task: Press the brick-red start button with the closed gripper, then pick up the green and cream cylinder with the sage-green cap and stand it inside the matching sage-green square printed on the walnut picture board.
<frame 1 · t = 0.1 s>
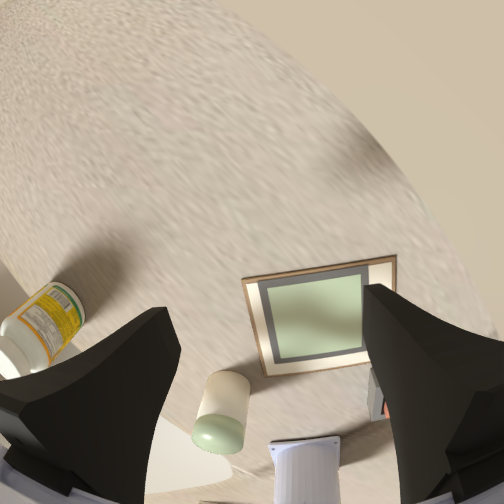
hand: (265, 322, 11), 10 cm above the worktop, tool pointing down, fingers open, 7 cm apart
button housing: (394, 381, 24), on the worktop
green and cream cylinder: (228, 385, 25), on the worktop
supplement bottle: (65, 304, 24), on the worktop
picture board: (325, 324, 22), on the worktop
done button: (401, 401, 22), point 3 cm above the worktop, slide at 0.0 cm
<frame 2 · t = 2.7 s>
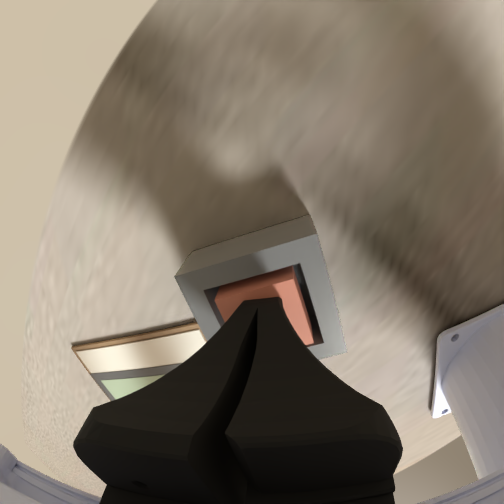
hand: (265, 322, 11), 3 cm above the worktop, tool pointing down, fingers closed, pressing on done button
button housing: (268, 287, 13), on the worktop
picture board: (172, 403, 17), on the worktop
done button: (266, 314, 11), point 2 cm above the worktop, slide at 0.5 cm, touching gripper
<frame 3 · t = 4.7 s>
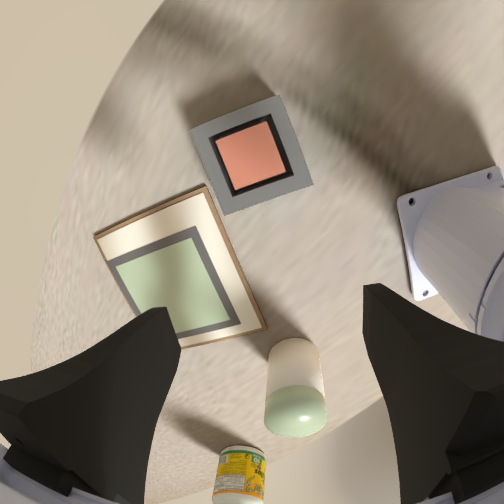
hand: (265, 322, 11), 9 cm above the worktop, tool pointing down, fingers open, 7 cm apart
button housing: (254, 153, 17), on the worktop
green and cream cylinder: (293, 357, 23), on the worktop
supplement bottle: (243, 453, 29), on the worktop
picture board: (177, 282, 21), on the worktop
done button: (251, 155, 15), point 2 cm above the worktop, slide at 0.5 cm
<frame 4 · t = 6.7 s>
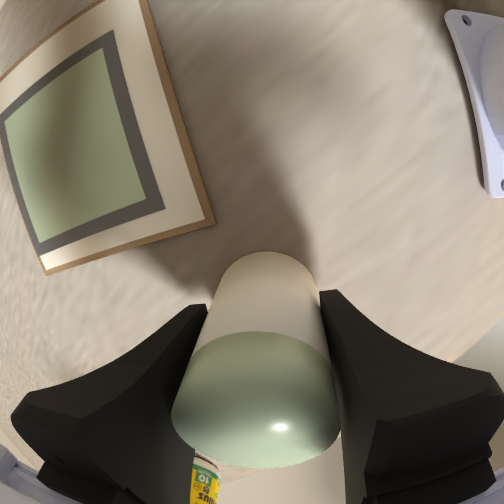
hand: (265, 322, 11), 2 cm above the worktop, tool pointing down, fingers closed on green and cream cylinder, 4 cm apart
green and cream cylinder: (267, 297, 12), on the worktop, touching gripper
supplement bottle: (188, 465, 19), on the worktop
picture board: (73, 134, 10), on the worktop
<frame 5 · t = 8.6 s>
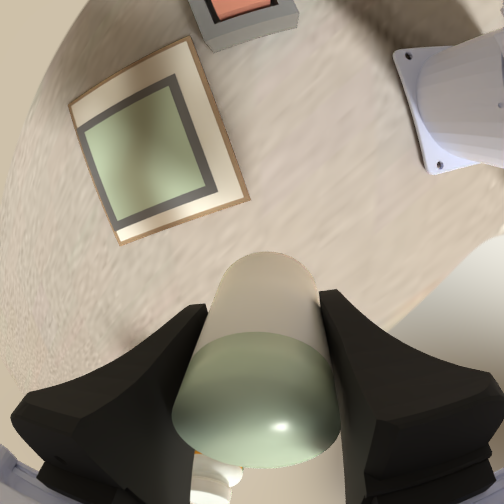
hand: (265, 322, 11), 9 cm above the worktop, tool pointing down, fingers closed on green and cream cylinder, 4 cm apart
button housing: (241, 6, 13), on the worktop
green and cream cylinder: (267, 297, 12), point 7 cm above the worktop, touching gripper
supplement bottle: (222, 410, 25), on the worktop
picture board: (148, 143, 17), on the worktop
when the fingers open (3 cm above the worktop, at t = 10.9 s): green and cream cylinder stays where it is, resting on picture board.
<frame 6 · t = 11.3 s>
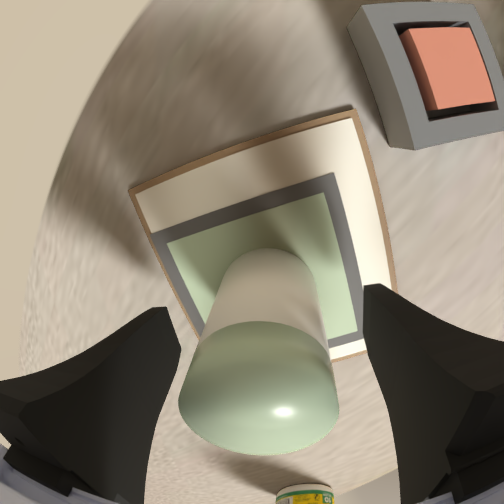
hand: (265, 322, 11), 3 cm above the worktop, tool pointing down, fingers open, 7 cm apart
button housing: (423, 75, 9), on the worktop
green and cream cylinder: (268, 292, 13), resting on picture board
supplement bottle: (305, 490, 21), on the worktop
picture board: (280, 272, 13), on the worktop
done button: (448, 67, 7), point 2 cm above the worktop, slide at 0.5 cm
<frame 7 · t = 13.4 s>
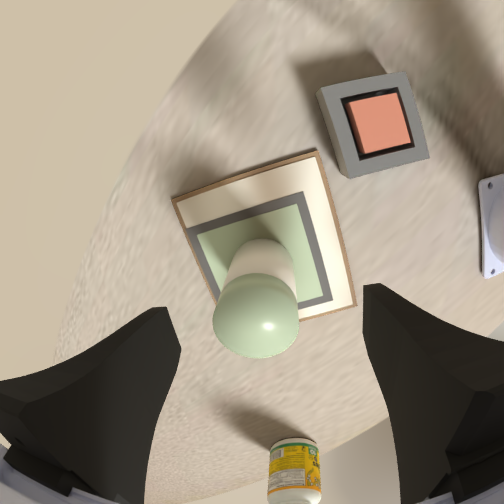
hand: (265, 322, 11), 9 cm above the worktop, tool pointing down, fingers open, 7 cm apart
button housing: (367, 123, 16), on the worktop
green and cream cylinder: (262, 267, 20), resting on picture board
supplement bottle: (294, 446, 28), on the worktop
picture board: (270, 254, 20), on the worktop
done button: (377, 122, 14), point 2 cm above the worktop, slide at 0.5 cm
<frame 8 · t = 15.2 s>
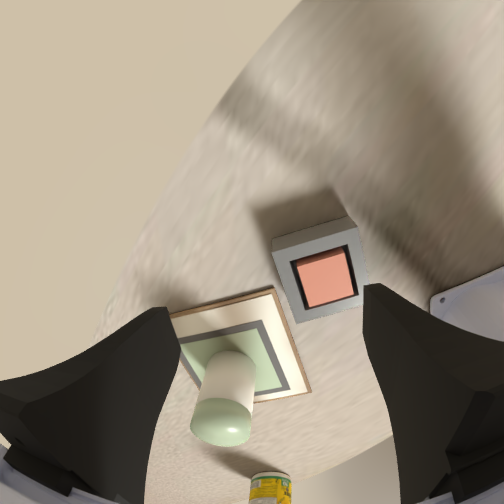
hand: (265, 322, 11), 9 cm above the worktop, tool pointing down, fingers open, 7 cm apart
button housing: (321, 262, 20), on the worktop
green and cream cylinder: (231, 368, 23), resting on picture board
supplement bottle: (271, 477, 32), on the worktop
picture board: (237, 359, 23), on the worktop
done button: (325, 276, 18), point 2 cm above the worktop, slide at 0.5 cm
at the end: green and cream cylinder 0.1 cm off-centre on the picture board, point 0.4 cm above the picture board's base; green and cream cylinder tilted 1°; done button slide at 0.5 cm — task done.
